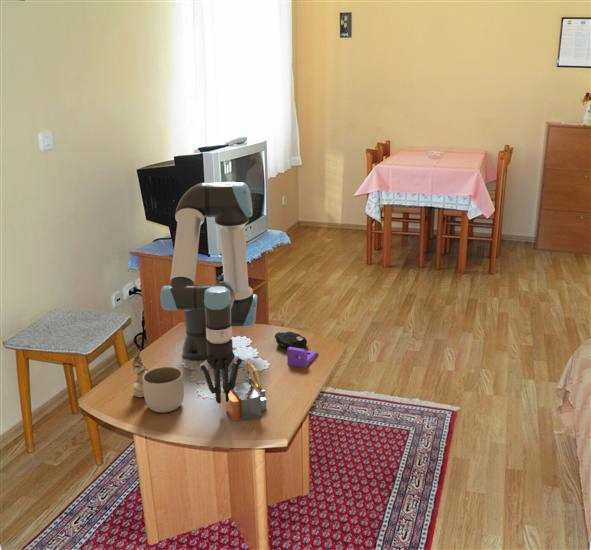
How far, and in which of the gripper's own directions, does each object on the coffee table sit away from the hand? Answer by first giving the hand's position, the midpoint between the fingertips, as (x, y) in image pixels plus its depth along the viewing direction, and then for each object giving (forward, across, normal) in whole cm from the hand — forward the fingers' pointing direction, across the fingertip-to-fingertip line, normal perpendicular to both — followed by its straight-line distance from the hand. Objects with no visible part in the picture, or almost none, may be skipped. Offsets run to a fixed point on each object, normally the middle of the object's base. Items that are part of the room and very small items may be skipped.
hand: (222, 411), depth 199 cm
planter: (+2, -15, +14) cm, 20 cm away
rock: (+1, +36, +42) cm, 56 cm away
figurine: (+2, -19, +25) cm, 31 cm away
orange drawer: (+2, +9, 0) cm, 9 cm away
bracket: (+2, +38, +27) cm, 47 cm away
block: (+2, +8, 0) cm, 8 cm away
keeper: (-6, +11, 0) cm, 13 cm away
